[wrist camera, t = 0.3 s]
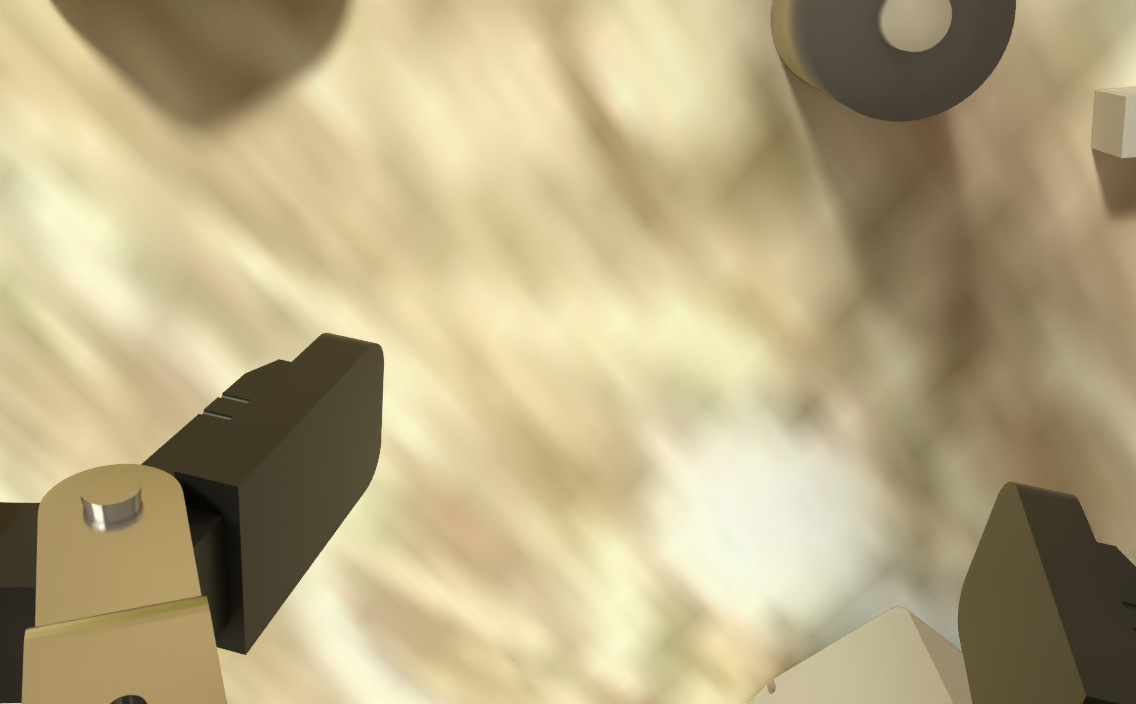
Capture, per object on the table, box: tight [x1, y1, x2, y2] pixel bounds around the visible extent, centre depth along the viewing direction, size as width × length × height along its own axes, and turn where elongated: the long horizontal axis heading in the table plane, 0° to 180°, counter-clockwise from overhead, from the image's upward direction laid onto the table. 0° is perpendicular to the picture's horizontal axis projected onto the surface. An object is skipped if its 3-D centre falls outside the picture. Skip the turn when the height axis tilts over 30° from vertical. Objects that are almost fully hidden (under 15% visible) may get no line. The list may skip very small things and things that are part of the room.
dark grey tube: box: [771, 0, 1016, 121], centre depth 29 cm, size 5×5×11 cm
